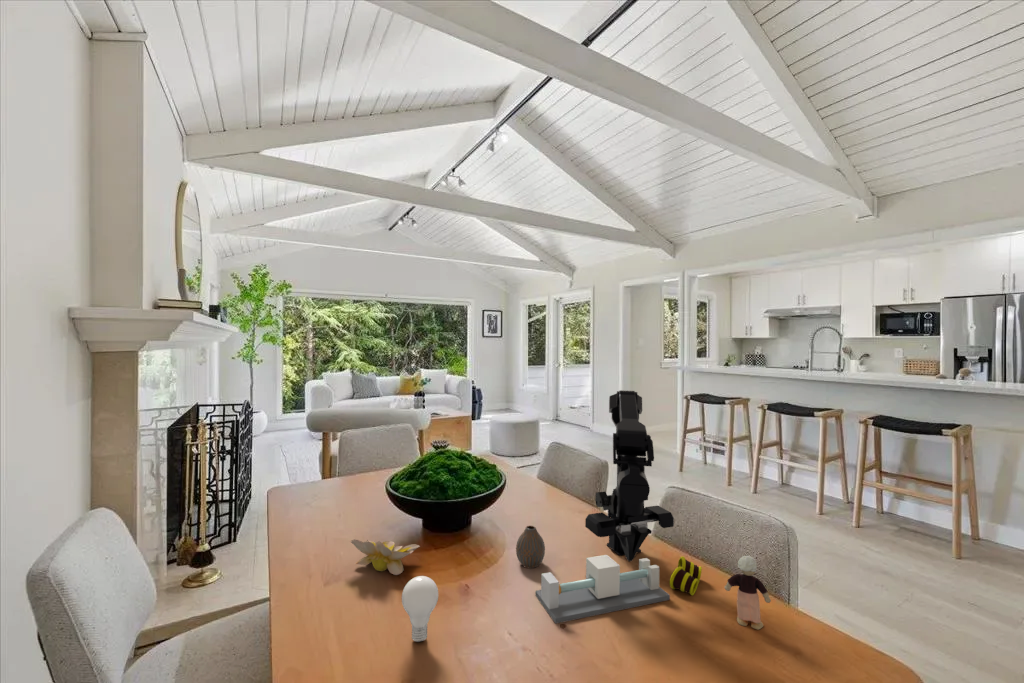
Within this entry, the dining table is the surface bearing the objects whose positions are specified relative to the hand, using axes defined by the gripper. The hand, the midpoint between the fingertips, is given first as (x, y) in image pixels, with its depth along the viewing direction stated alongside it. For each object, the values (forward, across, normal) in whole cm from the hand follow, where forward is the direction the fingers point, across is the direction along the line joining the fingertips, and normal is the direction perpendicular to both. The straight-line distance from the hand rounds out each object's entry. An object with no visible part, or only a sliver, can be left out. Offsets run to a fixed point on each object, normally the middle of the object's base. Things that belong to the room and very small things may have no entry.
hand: (629, 560), depth 97 cm
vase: (+7, +16, -18) cm, 25 cm away
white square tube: (+5, +7, 0) cm, 8 cm away
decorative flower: (+7, +48, -26) cm, 55 cm away
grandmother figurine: (+7, -15, +16) cm, 23 cm away
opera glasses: (+7, -14, +1) cm, 16 cm away
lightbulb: (+7, +45, +2) cm, 45 cm away
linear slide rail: (+7, +7, 0) cm, 9 cm away
